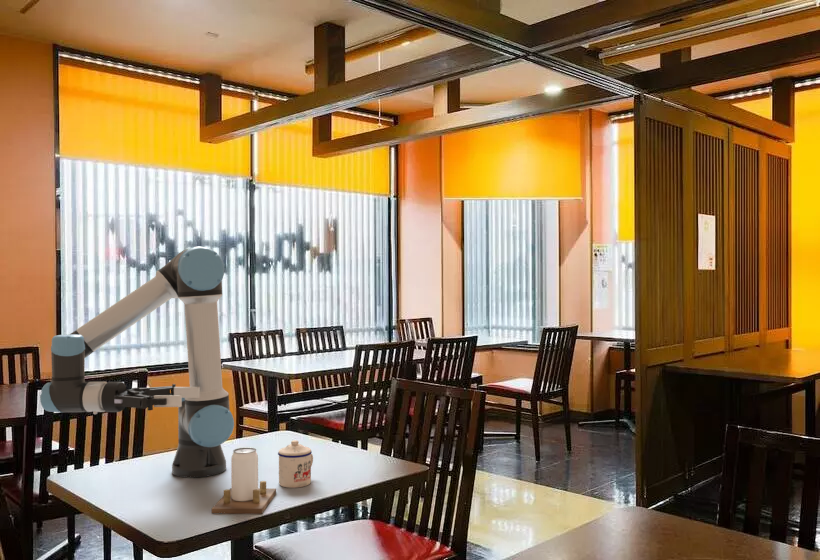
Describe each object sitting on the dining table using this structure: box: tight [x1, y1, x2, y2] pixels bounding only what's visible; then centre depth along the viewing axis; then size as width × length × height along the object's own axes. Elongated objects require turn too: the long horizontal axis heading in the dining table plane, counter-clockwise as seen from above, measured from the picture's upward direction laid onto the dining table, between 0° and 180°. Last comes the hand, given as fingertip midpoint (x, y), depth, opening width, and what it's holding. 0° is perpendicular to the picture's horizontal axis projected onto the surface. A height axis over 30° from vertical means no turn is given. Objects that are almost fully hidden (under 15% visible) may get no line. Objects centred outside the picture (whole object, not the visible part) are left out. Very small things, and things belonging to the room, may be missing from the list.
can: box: [230, 446, 259, 502], centre depth 173 cm, size 6×6×12 cm
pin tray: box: [211, 480, 277, 515], centre depth 174 cm, size 16×12×4 cm
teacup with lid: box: [277, 439, 314, 489], centre depth 191 cm, size 12×9×12 cm
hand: (190, 396), depth 175 cm, fingers open, 13 cm apart
